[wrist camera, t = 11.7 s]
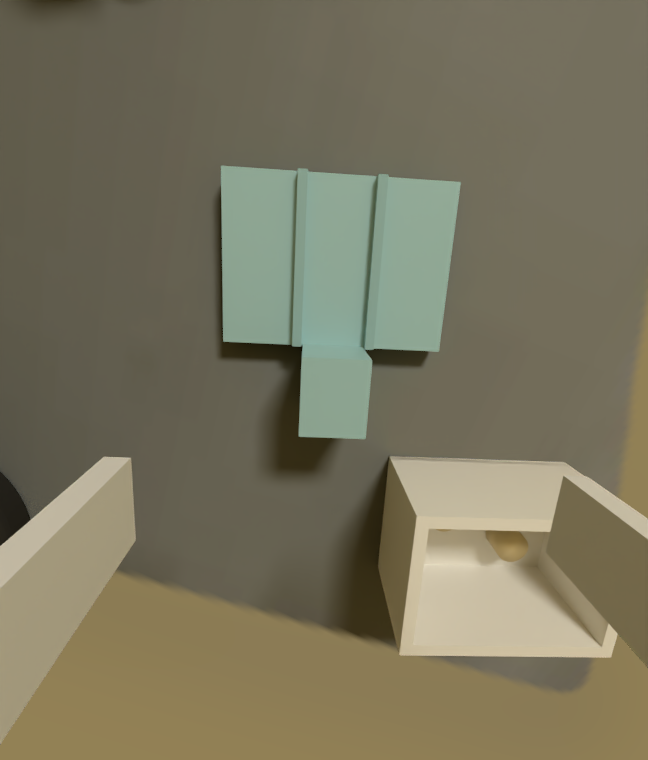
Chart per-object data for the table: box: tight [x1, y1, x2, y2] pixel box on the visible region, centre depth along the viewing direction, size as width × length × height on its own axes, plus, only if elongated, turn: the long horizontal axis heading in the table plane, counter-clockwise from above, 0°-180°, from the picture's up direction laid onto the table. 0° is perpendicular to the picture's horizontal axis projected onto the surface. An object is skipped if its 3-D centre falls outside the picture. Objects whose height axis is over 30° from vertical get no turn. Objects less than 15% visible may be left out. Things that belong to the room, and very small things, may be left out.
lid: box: [221, 166, 461, 439], centre depth 24 cm, size 15×15×6 cm
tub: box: [378, 456, 617, 657], centre depth 28 cm, size 14×10×8 cm
